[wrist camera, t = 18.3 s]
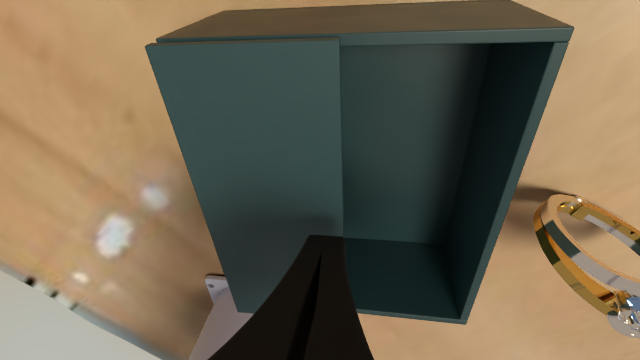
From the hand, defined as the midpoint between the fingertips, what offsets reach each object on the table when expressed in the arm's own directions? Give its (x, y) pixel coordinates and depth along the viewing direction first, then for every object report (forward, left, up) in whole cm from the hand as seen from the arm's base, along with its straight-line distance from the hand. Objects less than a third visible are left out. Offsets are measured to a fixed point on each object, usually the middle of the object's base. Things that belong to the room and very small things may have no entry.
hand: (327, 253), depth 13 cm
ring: (-3, -13, -8) cm, 16 cm away
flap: (0, +3, -2) cm, 3 cm away
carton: (0, -1, -8) cm, 8 cm away
